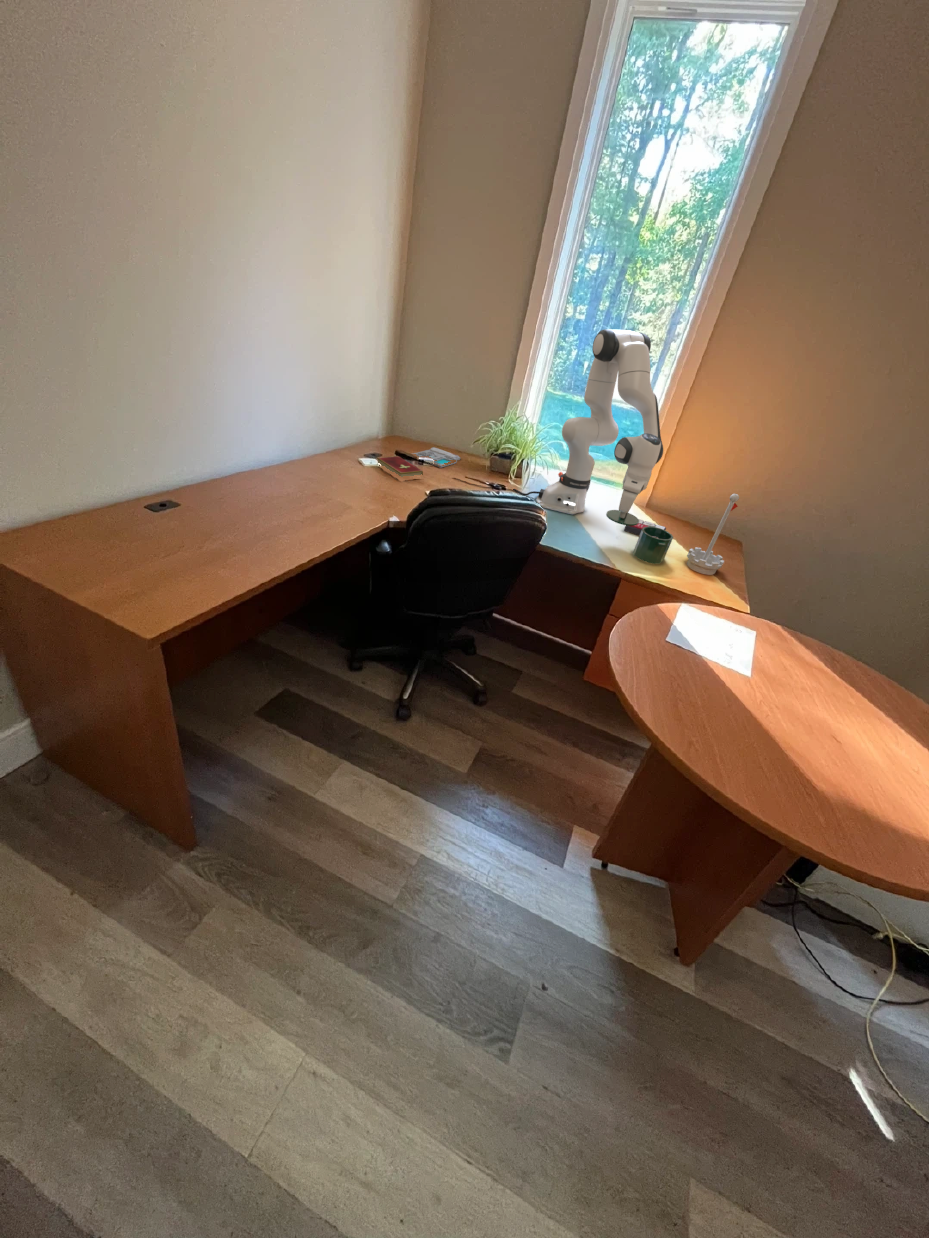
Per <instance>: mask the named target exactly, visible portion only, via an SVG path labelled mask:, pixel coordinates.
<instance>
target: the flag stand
mask: <svg viewBox="0 0 929 1238" xmlns="http://www.w3.org/2000/svg"><path fill="white" fill-rule="evenodd" d="M739 499H740V495H739V494H737V493H731V495H730V496H729V500H730V501H729V503H728V504H727V507H726V509H725V511H724V513H723V516H722V518H721V520H720V522H719V524H718V526H717V528H716V530H715V532H714V534H713V536H712V539H711V541H710V542H709V544H708V547H707V548H706V551H705V550H702V548H701V547H698V546H695V547H694V548H689V550H688V552H687V554H686V557H687V561H686V566H687V567H688V568H689V569H691V570H692V571H694V572H696V573H699V574H702V575H708V576H711V575H715V574H716V572H717V570H720V569H721V568H722V567H723V565H724V564H725V560H723V559H724V557H723V556H722V555H721V554H717V555H715V554H714V550H713V549H714V546H715V544H716V542H717V540H718V538H719V536H720V535H721V532H722V530H723V528H724V526H725V524H726V521H727V519H728V517H729V515H730V513H731V512H732V511H733V510H735V509H737V508H738V507H739V505H738V504H736V502H738V501H739Z"/></svg>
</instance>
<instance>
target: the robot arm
mask: <svg viewBox="0 0 929 1238" xmlns="http://www.w3.org/2000/svg"><path fill="white" fill-rule="evenodd" d="M651 347H652V342H651V338H650V337H649V336H648V335H647V334H645V333H643V332H638V331H633V330H629V329H612V328H605V329H601V330H599V332H598V333H597V334H596V336H595V337H594V339H593V342H592V354H593V360H592V363H591V366H590V369H589V374H588V378H587V383H586V387H585V392H584V396H583V400H584V403H585V405H586V406H587V407H589V409H590V417H586V416H575V417H571V418H568V419H566V421H565V422H564V423H563V425H562V427H561V436H562V439H563V441H564V442H565V443H566V445H567V447H568V454H569V457H568V461H567V466H566V470H565V472H564V473H563V472H562V471H559V472H558V474H557V475H558V477H559V479H558V481H556V482H554V483H552V484H550V485H547V486H546V487H545V488H540V490H539V491H533V490H532V491H529V492H527V493H526V492H525V493H524V492H522V491H519V489H516V488H514V489H513V490H512V491H514V492H516V493H518V494H519V495H521V496H525V497H526V496H530V495H533V494H536V495H537V494H538V495H537V497H536V499H535V500H536V504H537V503H539V504H540V505H541V506H542V507H541V508H542V509H547V510H552V511H555V512H559V513H563V514H568V515H575V514H580V513H583V512H585V510H586V498H587V493H588V491H589V489H590V486H591V481H592V479H591V478H592V475H593V471H594V469H595V468H594V467H595V462H596V461H595V459H594V457H593V456H592V455H591V454H590V452H589V451H590V446H592V447H594V446H595V447H603V446H609V445H612V444H614V443H615V442H616V440H617V438H618V437H619V431H620V430H619V425H618V423H617V422H616V421H615V418H614V416H613V410H612V409H613V408H612V405H613V397H614V392H615V387H616V383H617V392H618V396H619V397H620V398H621V400H622V401H623V402H625V403H627V404H628V405H630V406H632V407H633V408H635V409H636V410H637V411H638V412H639V413H640V415H641V417H642V426H643V427H642V428H643V433H642V434H640V435H638V436H623V437H622V438H620V439H619V440H618V441H617V442H616V444H615V447H614V451H613V452H614V453H613V454H614V458H615V460H616V461H617V463H619V464H621V465H626V466H627V469H626V470H625V474H624V477H623V479H622V487H621V489H622V493H621V497H620V500H619V505H618V510H619V511H621V515H620V517H621V518H625V516H626V513H630V510H631V508H632V507H633V505H634V503H635V501H636V500H637V499H636V498H637V497H638V496H639V495H640V494H641V492H643V491H645V490H646V489H647V487H648V485H649V482H650V479H651V477H652V472H653V469H654V467H655V466H656V465H657V464H658V463H659V462H660V460H661V459H662V458H663V455H664V445H663V441H662V436H661V424H660V414H659V413H660V412H659V411H660V410H659V404H658V398H657V395H656V394H655V392H654V390H653V387H652V383H651V357H650V352H651Z"/></svg>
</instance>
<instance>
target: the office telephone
mask: <svg viewBox="0 0 929 1238" xmlns="http://www.w3.org/2000/svg"><path fill="white" fill-rule="evenodd" d="M412 454H416V455H417V456H419V457H421V456H429V457H431V458H433V460H437V461H434V463H435V464H436V465H435V464H433V463H430V464H429V465H432V466H434V467H438V468H440V469H441V468H445V467H448V466H452V465H454V464H457V462H459V461H461V457H460V456H459V455H458V454H455V453H452V452H449V451H446V450H443V449H440V448H438V447H434V446H432V447H431V448H430V449H426V450H422V451H418V452H413V453H412ZM450 460H456V462H454V463H451V464H448V465H445V464H444V463H448V462H451V461H450ZM438 465H439V466H438ZM442 465H444V466H442Z"/></svg>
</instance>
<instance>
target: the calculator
mask: <svg viewBox="0 0 929 1238" xmlns="http://www.w3.org/2000/svg"><path fill="white" fill-rule="evenodd" d="M638 519H639V523H638V524H637V525H634V526H628V525H625V527H624V532H627V533H630V534H633V535H635V536H638V537H639V536H640V533H641V530H642V528H643V527H648V525H650V526H655V527H657V528H660V529H663V530H665V531H667V527H666V526H664V525H660V524H656V523H655V522H650V521H647V520H643V519H640V518H638Z"/></svg>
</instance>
